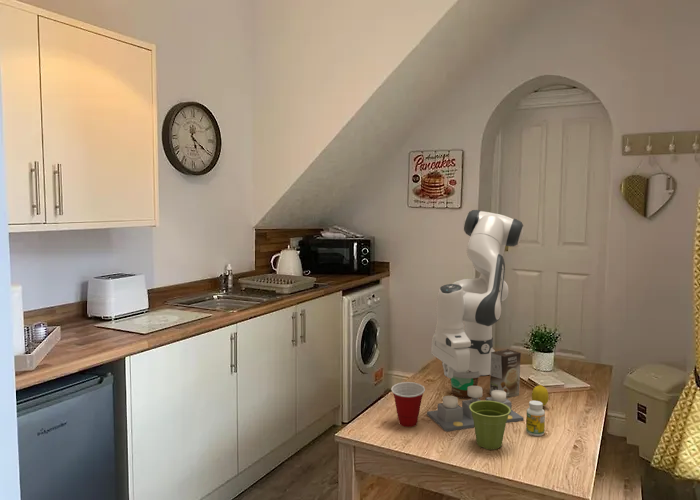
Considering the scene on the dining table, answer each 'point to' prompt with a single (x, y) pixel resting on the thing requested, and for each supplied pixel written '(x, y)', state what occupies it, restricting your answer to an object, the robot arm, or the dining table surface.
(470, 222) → the robot arm
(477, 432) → the plant pot
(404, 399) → the plastic cup
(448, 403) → the button
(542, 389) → the lemon
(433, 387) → the dining table surface
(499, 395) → the button
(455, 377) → the food container
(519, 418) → the button board
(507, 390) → the coffee box
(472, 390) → the button
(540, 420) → the supplement bottle
